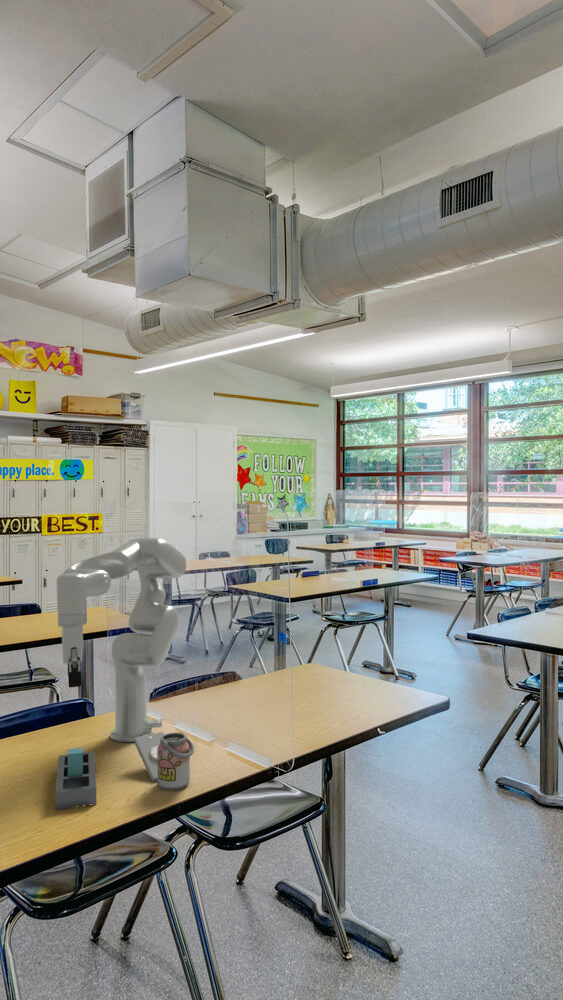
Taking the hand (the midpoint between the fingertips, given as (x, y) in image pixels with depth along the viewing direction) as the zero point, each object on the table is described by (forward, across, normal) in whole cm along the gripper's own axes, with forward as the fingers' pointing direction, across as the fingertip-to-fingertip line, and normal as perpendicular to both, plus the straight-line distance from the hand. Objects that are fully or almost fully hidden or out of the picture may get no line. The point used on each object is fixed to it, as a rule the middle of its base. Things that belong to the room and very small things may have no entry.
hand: (74, 681), depth 170 cm
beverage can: (+24, +21, +23) cm, 39 cm away
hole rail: (+23, +13, -1) cm, 26 cm away
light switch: (+24, +10, +20) cm, 33 cm away
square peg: (+23, +13, -1) cm, 26 cm away
